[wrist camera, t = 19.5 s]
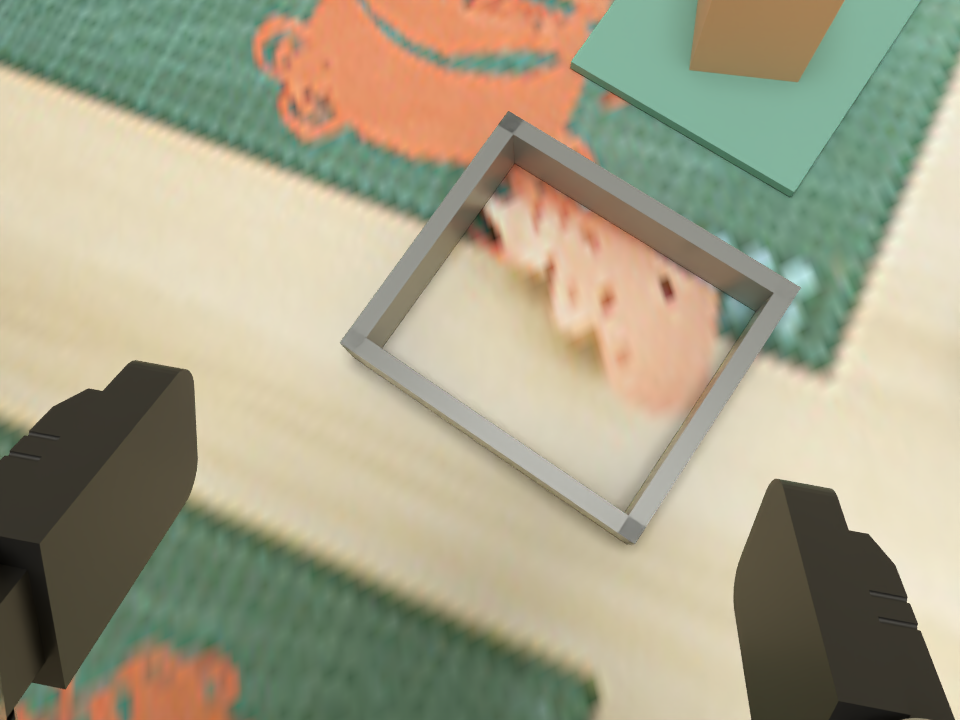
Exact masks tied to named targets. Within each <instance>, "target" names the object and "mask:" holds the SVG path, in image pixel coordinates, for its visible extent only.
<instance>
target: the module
mask: <svg viewBox="0 0 960 720" xmlns="http://www.w3.org/2000/svg"><path fill="white" fill-rule="evenodd" d="M844 1H845V0H698V3H697V11H696V19H695V27H694V35H693V43H692V51H691V59H690V67H689V70H692V71H701V72H710V73H719V74H728V75H737V76H746V77H755V78H764V79H773V80H782V81H791V82H798V81H799V80H800V78H801V76H802V74H803V73H804V71H805V69H806V67H807V66H808V64H809V62H810V60H811V59H812V57H813V55H814V53H815V52H816V50H817V48H818V46H819V45H820V43H821V41H822V39H823V37H824V36H825V34H826V32H827V30H828V29H829V27H830V25H831V23H832V22H833V20H834V18H835V16H836V15H837V13H838V11H839V9H840V8H841V6H842V4H843V2H844Z"/></svg>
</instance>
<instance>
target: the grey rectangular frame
mask: <svg viewBox="0 0 960 720" xmlns="http://www.w3.org/2000/svg"><path fill="white" fill-rule="evenodd" d="M514 164H517V165H518V166H520V167H522V168H523V169H525V170H527V171H528V172H530V173H531V174H533V175H535V176H536V177H538V178H540V179H541V180H543V181H544V182H546V183H548V184H549V185H551V186H553V187H554V188H556V189H557V190H559V191H561V192H562V193H564V194H566V195H567V196H569V197H570V198H572V199H574V200H575V201H577V202H579V203H580V204H582V205H583V206H585V207H587V208H588V209H590V210H592V211H593V212H595V213H596V214H598V215H600V216H601V217H603V218H605V219H606V220H608V221H609V222H611V223H613V224H614V225H616V226H618V227H619V228H621V229H622V230H624V231H626V232H627V233H629V234H631V235H632V236H634V237H635V238H637V239H639V240H640V241H642V242H644V243H645V244H647V245H648V246H650V247H652V248H653V249H655V250H657V251H658V252H660V253H661V254H663V255H665V256H666V257H668V258H670V259H671V260H673V261H674V262H676V263H678V264H679V265H681V266H683V267H684V268H686V269H687V270H689V271H691V272H692V273H694V274H696V275H697V276H699V277H700V278H702V279H704V280H705V281H707V282H709V283H710V284H712V285H713V286H715V287H717V288H718V289H720V290H722V291H723V292H725V293H726V294H728V295H730V296H731V297H733V298H735V299H736V300H738V301H739V302H741V303H743V304H744V305H746V306H748V307H749V308H751V309H752V310H754V311H756V312H755V314H754V315H753V317H752V318H751V320H750V322H749V323H748V325H747V326H746V328H745V329H744V331H743V332H742V334H741V335H740V337H739V338H738V340H737V341H736V343H735V345H734V346H733V348H732V349H731V351H730V352H729V354H728V355H727V357H726V358H725V360H724V361H723V363H722V364H721V366H720V368H719V369H718V371H717V372H716V374H715V375H714V377H713V378H712V380H711V381H710V383H709V384H708V386H707V387H706V389H705V391H704V392H703V394H702V395H701V397H700V398H699V400H698V401H697V403H696V404H695V406H694V407H693V409H692V410H691V412H690V414H689V415H688V417H687V418H686V420H685V421H684V423H683V424H682V426H681V427H680V429H679V430H678V432H677V433H676V435H675V437H674V438H673V440H672V441H671V443H670V444H669V446H668V447H667V449H666V450H665V452H664V453H663V455H662V456H661V458H660V459H659V461H658V463H657V464H656V466H655V467H654V469H653V470H652V472H651V473H650V475H649V476H648V478H647V479H646V481H645V482H644V484H643V486H642V487H641V489H640V490H639V492H638V493H637V495H636V496H635V498H634V499H633V501H632V502H631V504H630V505H629V507H628V509H627V510H626V512H625V513H624V512H623V511H621V510H620V509H618V508H617V507H615V506H614V505H612V504H611V503H609V502H608V501H606V500H605V499H603V498H602V497H600V496H599V495H598V494H596V493H595V492H593V491H592V490H590V489H589V488H587V487H586V486H584V485H583V484H581V483H580V482H578V481H577V480H575V479H574V478H572V477H571V476H569V475H568V474H567V473H565V472H564V471H562V470H561V469H559V468H558V467H556V466H555V465H553V464H552V463H550V462H549V461H547V460H546V459H544V458H543V457H541V456H540V455H538V454H537V453H536V452H534V451H533V450H531V449H530V448H528V447H527V446H525V445H524V444H522V443H521V442H519V441H518V440H516V439H515V438H513V437H512V436H510V435H509V434H507V433H506V432H505V431H503V430H502V429H500V428H499V427H497V426H496V425H494V424H493V423H491V422H490V421H488V420H487V419H485V418H484V417H482V416H481V415H479V414H478V413H476V412H475V411H474V410H472V409H471V408H469V407H468V406H466V405H465V404H463V403H462V402H460V401H459V400H457V399H456V398H454V397H453V396H451V395H450V394H448V393H447V392H445V391H444V390H443V389H441V388H440V387H438V386H437V385H435V384H434V383H432V382H431V381H429V380H428V379H426V378H425V377H423V376H422V375H420V374H419V373H417V372H416V371H414V370H413V369H412V368H410V367H409V366H407V365H406V364H404V363H403V362H401V361H400V360H398V359H397V358H395V357H394V356H392V355H391V354H389V353H388V352H386V351H385V350H383V349H382V347H383V346H384V344H385V343H386V342H387V340H388V339H389V337H390V336H391V335H392V333H393V332H394V330H395V329H396V328H397V326H398V325H399V324H400V322H401V321H402V319H403V318H404V317H405V315H406V314H407V312H408V311H409V310H410V308H411V307H412V305H413V304H414V303H415V301H416V300H417V298H418V297H419V296H420V294H421V293H422V292H423V290H424V289H425V287H426V286H427V285H428V283H429V282H430V280H431V279H432V278H433V276H434V275H435V273H436V272H437V271H438V269H439V268H440V266H441V265H442V264H443V262H444V261H445V260H446V258H447V257H448V255H449V254H450V253H451V251H452V250H453V248H454V247H455V246H456V244H457V243H458V241H459V240H460V239H461V237H462V236H463V234H464V233H465V232H466V230H467V229H468V228H469V226H470V225H471V223H472V222H473V221H474V219H475V218H476V216H477V215H478V214H479V212H480V211H481V209H482V208H483V207H484V205H485V204H486V202H487V201H488V200H489V198H490V197H491V196H492V194H493V193H494V191H495V190H496V189H497V187H498V186H499V184H500V183H501V182H502V180H503V179H504V177H505V176H506V175H507V173H508V172H509V170H510V169H511V168H512V166H513V165H514ZM800 288H801V287H799V286H797V285H796V284H794V283H792V282H791V281H789V280H787V279H786V278H784V277H782V276H781V275H779V274H777V273H776V272H774V271H772V270H771V269H769V268H767V267H766V266H764V265H763V264H761V263H759V262H758V261H756V260H754V259H753V258H751V257H749V256H748V255H746V254H744V253H743V252H741V251H739V250H738V249H736V248H734V247H733V246H731V245H729V244H728V243H726V242H724V241H723V240H721V239H720V238H718V237H716V236H715V235H713V234H711V233H710V232H708V231H706V230H705V229H703V228H701V227H700V226H698V225H696V224H695V223H693V222H691V221H690V220H688V219H686V218H685V217H683V216H681V215H680V214H678V213H676V212H675V211H673V210H672V209H670V208H668V207H667V206H665V205H663V204H662V203H660V202H658V201H657V200H655V199H653V198H652V197H650V196H648V195H647V194H645V193H643V192H642V191H640V190H638V189H637V188H635V187H633V186H632V185H630V184H628V183H627V182H625V181H624V180H622V179H620V178H619V177H617V176H615V175H614V174H612V173H610V172H609V171H607V170H605V169H604V168H602V167H600V166H599V165H597V164H595V163H594V162H592V161H590V160H589V159H587V158H585V157H584V156H582V155H581V154H579V153H577V152H576V151H574V150H572V149H571V148H569V147H567V146H566V145H564V144H562V143H561V142H559V141H557V140H556V139H554V138H552V137H551V136H549V135H547V134H546V133H544V132H542V131H541V130H539V129H537V128H536V127H534V126H533V125H531V124H529V123H528V122H526V121H524V120H523V119H521V118H519V117H518V116H516V115H514V114H513V113H511V112H509V111H508V112H507V114H506V115H505V116H504V118H503V119H502V120H501V122H500V123H499V125H498V126H497V127H496V129H495V130H494V131H493V133H492V134H491V136H490V137H489V138H488V140H487V141H486V142H485V144H484V145H483V147H482V148H481V149H480V151H479V152H478V153H477V155H476V156H475V158H474V159H473V160H472V162H471V163H470V164H469V166H468V167H467V169H466V170H465V171H464V173H463V174H462V175H461V177H460V178H459V180H458V181H457V182H456V184H455V185H454V186H453V188H452V189H451V191H450V192H449V193H448V195H447V196H446V197H445V199H444V200H443V202H442V203H441V204H440V206H439V207H438V208H437V210H436V211H435V213H434V214H433V215H432V217H431V218H430V219H429V221H428V222H427V224H426V225H425V226H424V228H423V229H422V230H421V232H420V233H419V235H418V236H417V237H416V239H415V240H414V241H413V243H412V244H411V246H410V247H409V248H408V250H407V251H406V252H405V254H404V255H403V257H402V258H401V259H400V261H399V262H398V263H397V265H396V266H395V268H394V269H393V270H392V272H391V273H390V274H389V276H388V277H387V279H386V280H385V281H384V283H383V284H382V285H381V287H380V288H379V290H378V291H377V292H376V294H375V295H374V296H373V298H372V299H371V301H370V302H369V303H368V305H367V306H366V307H365V309H364V310H363V312H362V313H361V314H360V316H359V317H358V318H357V320H356V321H355V323H354V324H353V325H352V327H351V328H350V329H349V331H348V332H347V334H346V335H345V336H344V338H343V339H342V340H341V342H340V344H341V345H342V346H343V347H344V348H345V349H346V350H347V351H348V352H349V353H350V354H351V355H352V356H353V357H354V358H355V359H357V360H358V361H360V362H361V363H363V364H364V365H366V366H367V367H368V368H370V369H371V370H373V371H374V372H376V373H377V374H379V375H380V376H382V377H383V378H385V379H386V380H387V381H389V382H390V383H392V384H393V385H395V386H396V387H398V388H399V389H401V390H402V391H404V392H405V393H406V394H408V395H409V396H411V397H412V398H414V399H415V400H417V401H418V402H420V403H421V404H423V405H424V406H425V407H427V408H428V409H430V410H431V411H433V412H434V413H436V414H437V415H439V416H440V417H442V418H443V419H444V420H446V421H447V422H449V423H450V424H452V425H453V426H455V427H456V428H458V429H459V430H461V431H462V432H463V433H465V434H466V435H468V436H469V437H471V438H472V439H474V440H475V441H477V442H478V443H480V444H481V445H482V446H484V447H485V448H487V449H488V450H490V451H491V452H493V453H494V454H496V455H497V456H499V457H500V458H501V459H503V460H504V461H506V462H507V463H509V464H510V465H512V466H513V467H515V468H516V469H518V470H519V471H520V472H522V473H523V474H525V475H526V476H528V477H529V478H531V479H532V480H534V481H535V482H537V483H538V484H539V485H541V486H542V487H544V488H545V489H547V490H548V491H550V492H551V493H553V494H554V495H556V496H557V497H558V498H560V499H561V500H563V501H564V502H566V503H567V504H569V505H570V506H572V507H573V508H575V509H576V510H577V511H579V512H580V513H582V514H583V515H585V516H586V517H588V518H589V519H591V520H592V521H594V522H595V523H596V524H598V525H599V526H601V527H602V528H604V529H605V530H607V531H608V532H610V533H611V534H613V535H614V536H615V537H617V538H618V539H620V540H621V541H623V542H624V543H626V544H635V543H636V542H637V540H638V539H639V537H640V536H641V534H642V533H643V531H644V529H645V528H646V526H647V525H648V523H649V522H650V520H651V519H652V517H653V516H654V514H655V512H656V511H657V509H658V508H659V506H660V505H661V503H662V502H663V500H664V499H665V497H666V495H667V494H668V492H669V491H670V489H671V488H672V486H673V485H674V483H675V482H676V480H677V478H678V477H679V475H680V474H681V472H682V471H683V469H684V468H685V466H686V465H687V463H688V461H689V460H690V458H691V457H692V455H693V454H694V452H695V451H696V449H697V448H698V446H699V444H700V443H701V441H702V440H703V438H704V437H705V435H706V434H707V432H708V430H709V429H710V427H711V426H712V424H713V423H714V421H715V420H716V418H717V417H718V415H719V413H720V412H721V410H722V409H723V407H724V406H725V404H726V403H727V401H728V400H729V398H730V396H731V395H732V393H733V392H734V390H735V389H736V387H737V386H738V384H739V383H740V381H741V379H742V378H743V376H744V375H745V373H746V372H747V370H748V369H749V367H750V366H751V364H752V362H753V361H754V359H755V358H756V356H757V355H758V353H759V352H760V350H761V349H762V347H763V345H764V344H765V342H766V341H767V339H768V338H769V336H770V335H771V333H772V332H773V330H774V328H775V327H776V325H777V324H778V322H779V321H780V319H781V318H782V316H783V315H784V313H785V311H786V310H787V308H788V307H789V305H790V304H791V302H792V301H793V299H794V298H795V296H796V294H797V293H798V291H799V290H800Z"/></svg>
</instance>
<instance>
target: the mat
mask: <svg viewBox="0 0 960 720" xmlns="http://www.w3.org/2000/svg"><path fill="white" fill-rule="evenodd" d="M920 1H921V0H845V1H844V2H843V4H842V6H841V8H840V9H839V11H838V13H837V15H836V16H835V18H834V20H833V22H832V23H831V25H830V27H829V29H828V30H827V32H826V34H825V36H824V37H823V39H822V41H821V43H820V45H819V46H818V48H817V50H816V52H815V53H814V55H813V57H812V59H811V60H810V62H809V64H808V66H807V67H806V69H805V71H804V73H803V74H802V76H801V78H800V80H799V81H798V82H791V81H782V80H773V79H764V78H755V77H746V76H737V75H728V74H719V73H710V72H701V71H692V70H689V67H690V59H691V51H692V43H693V35H694V27H695V19H696V11H697V3H698V0H615V1H614V3H613V4H612V6H611V7H610V8H609V10H608V11H607V12H606V14H605V15H604V17H603V18H602V19H601V21H600V22H599V24H598V25H597V26H596V28H595V29H594V30H593V32H592V33H591V35H590V36H589V37H588V39H587V40H586V42H585V43H584V44H583V46H582V47H581V48H580V50H579V51H578V53H577V54H576V55H575V57H574V58H573V60H572V61H571V69H573V70H574V71H576V72H578V73H579V74H581V75H583V76H585V77H586V78H588V79H590V80H591V81H593V82H595V83H596V84H598V85H600V86H602V87H603V88H605V89H607V90H608V91H610V92H612V93H614V94H615V95H617V96H619V97H620V98H622V99H624V100H625V101H627V102H629V103H631V104H632V105H634V106H636V107H637V108H639V109H641V110H643V111H644V112H646V113H648V114H649V115H651V116H653V117H654V118H656V119H658V120H660V121H661V122H663V123H665V124H666V125H668V126H670V127H672V128H673V129H675V130H677V131H678V132H680V133H682V134H683V135H685V136H687V137H689V138H690V139H692V140H694V141H695V142H697V143H699V144H701V145H702V146H704V147H706V148H707V149H709V150H711V151H712V152H714V153H716V154H718V155H719V156H721V157H723V158H724V159H726V160H728V161H729V162H731V163H733V164H735V165H736V166H738V167H740V168H741V169H743V170H745V171H747V172H748V173H750V174H752V175H753V176H755V177H757V178H758V179H760V180H762V181H764V182H765V183H767V184H769V185H770V186H772V187H774V188H776V189H777V190H779V191H781V192H782V193H784V194H786V195H787V196H789V197H791V196H792V194H793V193H794V192H795V190H796V189H797V187H798V186H799V184H800V183H801V181H802V180H803V178H804V177H805V175H806V174H807V172H808V170H809V169H810V167H811V166H812V164H813V163H814V161H815V160H816V158H817V157H818V155H819V154H820V152H821V151H822V149H823V148H824V146H825V145H826V143H827V142H828V140H829V139H830V137H831V136H832V134H833V133H834V131H835V130H836V128H837V127H838V125H839V124H840V122H841V120H842V119H843V117H844V116H845V114H846V113H847V111H848V110H849V108H850V107H851V105H852V104H853V102H854V101H855V99H856V98H857V96H858V95H859V93H860V92H861V90H862V89H863V87H864V86H865V84H866V83H867V81H868V80H869V78H870V77H871V75H872V74H873V72H874V71H875V69H876V67H877V66H878V64H879V63H880V61H881V60H882V58H883V57H884V55H885V54H886V52H887V51H888V49H889V48H890V46H891V45H892V43H893V42H894V40H895V39H896V37H897V36H898V34H899V33H900V31H901V30H902V28H903V27H904V25H905V24H906V22H907V21H908V19H909V17H910V16H911V14H912V13H913V11H914V10H915V8H916V7H917V5H918V4H919V2H920Z"/></svg>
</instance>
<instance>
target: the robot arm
mask: <svg viewBox="0 0 960 720" xmlns="http://www.w3.org/2000/svg"><path fill="white" fill-rule="evenodd" d="M197 461H198V456H197V435H196V415H195V395H194V381H193V377H192V374H191V373H190V371H188V370H186V369H180V368H175V367H169V366H164V365H158V364H153V363H147V362H142V361H136V360H135V361H132V362H130V363H129V364H127V365H126V366H125V367H124V369H123V370H122V371H121V372H120V373H119V374H118V375H117V376H116V377H115V378H114V379H113V380H112V382H111V383H110V384H109V385H108V386H107V387H106V388H105V389H104V390H103V391H99V390H94V389H86V390H84V391H83V392H81V393H79V394H77V395H75V396H73V397H71V398H69V399H67V400H65V401H63V402H61V403H59V404H57V405H55V406H53V407H52V408H51V409H50V410H49V411H48V412H47V413H46V414H45V415H44V416H43V417H42V418H41V419H40V420H39V421H38V422H37V423H36V425H35V426H34V427H33V428H32V429H31V430H30V431H29V435H28V436H24V437H23V438H22V439H21V440H20V441H19V442H18V443H17V444H16V445H15V446H14V447H13V448H12V449H11V450H10V454H9V456H4V457H3V458H2V459H1V460H0V720H18V718H17V713H16V709H15V706H16V704H17V703H18V701H19V700H20V698H21V697H22V695H23V694H24V693H25V691H26V690H27V688H28V687H29V685H30V684H31V682H32V683H37V684H42V685H47V686H52V687H57V688H62V689H66V688H67V686H68V685H69V683H70V682H71V680H72V678H73V677H74V675H75V674H76V672H77V671H78V669H79V668H80V666H81V665H82V663H83V661H84V660H85V658H86V657H87V655H88V654H89V652H90V651H91V649H92V647H93V646H94V644H95V643H96V641H97V640H98V638H99V637H100V635H101V633H102V632H103V630H104V629H105V627H106V626H107V624H108V623H109V621H110V619H111V618H112V616H113V615H114V613H115V612H116V610H117V609H118V607H119V605H120V604H121V602H122V601H123V599H124V598H125V596H126V595H127V593H128V592H129V590H130V588H131V587H132V585H133V584H134V582H135V581H136V579H137V578H138V576H139V574H140V573H141V571H142V570H143V568H144V567H145V565H146V564H147V562H148V560H149V559H150V557H151V556H152V554H153V553H154V551H155V550H156V548H157V546H158V545H159V543H160V542H161V540H162V539H163V537H164V536H165V534H166V533H167V531H168V529H169V528H170V526H171V525H172V523H173V522H174V520H175V519H176V517H177V515H178V514H179V512H180V511H181V509H182V508H183V506H184V505H185V503H186V501H187V499H188V497H189V495H190V493H191V490H192V487H193V484H194V480H195V476H196V471H197ZM734 611H735V617H736V624H737V630H738V637H739V643H740V650H741V656H742V662H743V669H744V675H745V682H746V688H747V695H748V701H749V707H750V714H751V720H955V719H954V716H953V714H952V711H951V708H950V706H949V703H948V701H947V698H946V695H945V693H944V690H943V688H942V685H941V682H940V680H939V677H938V675H937V672H936V670H935V667H934V664H933V662H932V659H931V657H930V654H929V651H928V649H927V646H926V644H925V641H924V638H923V636H922V633H921V631H919V630H917V625H918V623H917V620H916V618H915V615H914V613H913V610H912V607H911V605H910V604H909V603H907V594H906V592H905V589H904V587H903V584H902V581H901V579H900V576H899V574H898V571H897V569H896V566H895V564H894V563H893V562H892V561H891V560H890V558H889V557H888V556H887V555H886V554H885V553H884V552H883V550H882V549H881V548H880V547H879V546H878V545H877V543H876V542H875V541H874V540H873V539H872V538H871V536H870V535H869V534H866V533H860V532H855V531H849V530H848V527H847V524H846V521H845V518H844V515H843V512H842V509H841V506H840V503H839V500H838V497H837V495H836V493H835V492H834V490H832V489H830V488H824V487H819V486H813V485H808V484H802V483H797V482H791V481H786V480H780V479H774V480H773V481H772V482H771V483H770V484H769V486H768V488H767V490H766V493H765V495H764V498H763V500H762V503H761V506H760V508H759V511H758V513H757V516H756V519H755V521H754V524H753V526H752V529H751V532H750V534H749V537H748V539H747V542H746V545H745V547H744V550H743V552H742V555H741V558H740V560H739V563H738V567H737V571H736V576H735V583H734Z"/></svg>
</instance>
